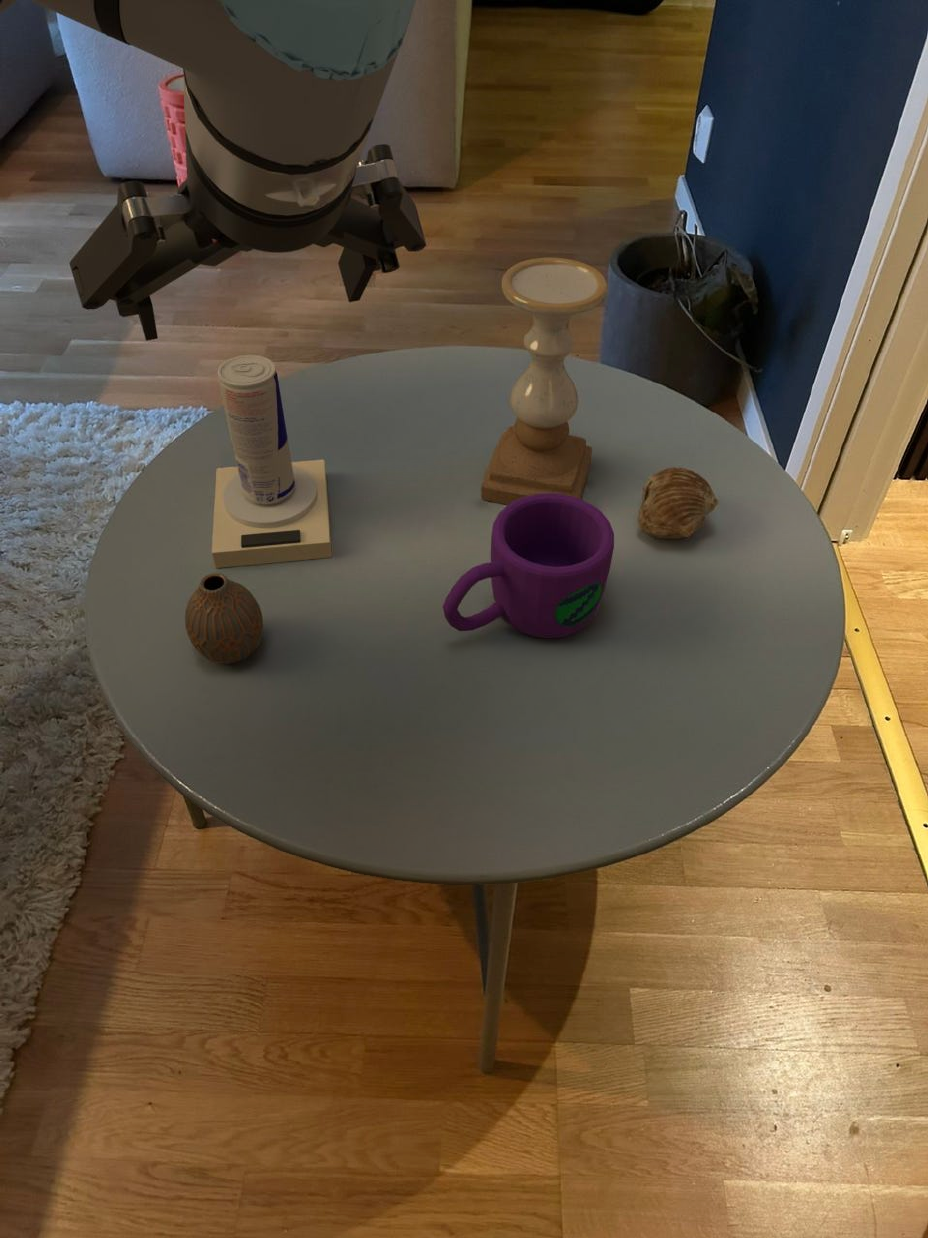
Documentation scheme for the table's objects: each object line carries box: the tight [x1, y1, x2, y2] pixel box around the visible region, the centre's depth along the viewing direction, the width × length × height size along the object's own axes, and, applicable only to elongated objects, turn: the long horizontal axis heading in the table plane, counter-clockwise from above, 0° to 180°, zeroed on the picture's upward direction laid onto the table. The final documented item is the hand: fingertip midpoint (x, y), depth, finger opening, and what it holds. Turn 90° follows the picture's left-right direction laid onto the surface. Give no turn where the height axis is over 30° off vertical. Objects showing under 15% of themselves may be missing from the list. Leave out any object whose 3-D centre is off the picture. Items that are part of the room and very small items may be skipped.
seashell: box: [637, 466, 719, 540], centre depth 96 cm, size 9×7×8 cm
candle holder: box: [480, 257, 608, 506], centre depth 96 cm, size 11×11×24 cm
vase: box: [184, 572, 264, 664], centre depth 83 cm, size 7×7×9 cm
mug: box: [442, 493, 615, 639], centre depth 86 cm, size 17×11×10 cm, turn 121°
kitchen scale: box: [211, 459, 333, 569], centre depth 98 cm, size 12×14×3 cm
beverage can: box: [216, 354, 295, 504], centre depth 92 cm, size 6×6×15 cm
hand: (250, 299), depth 60 cm, fingers open, 13 cm apart
